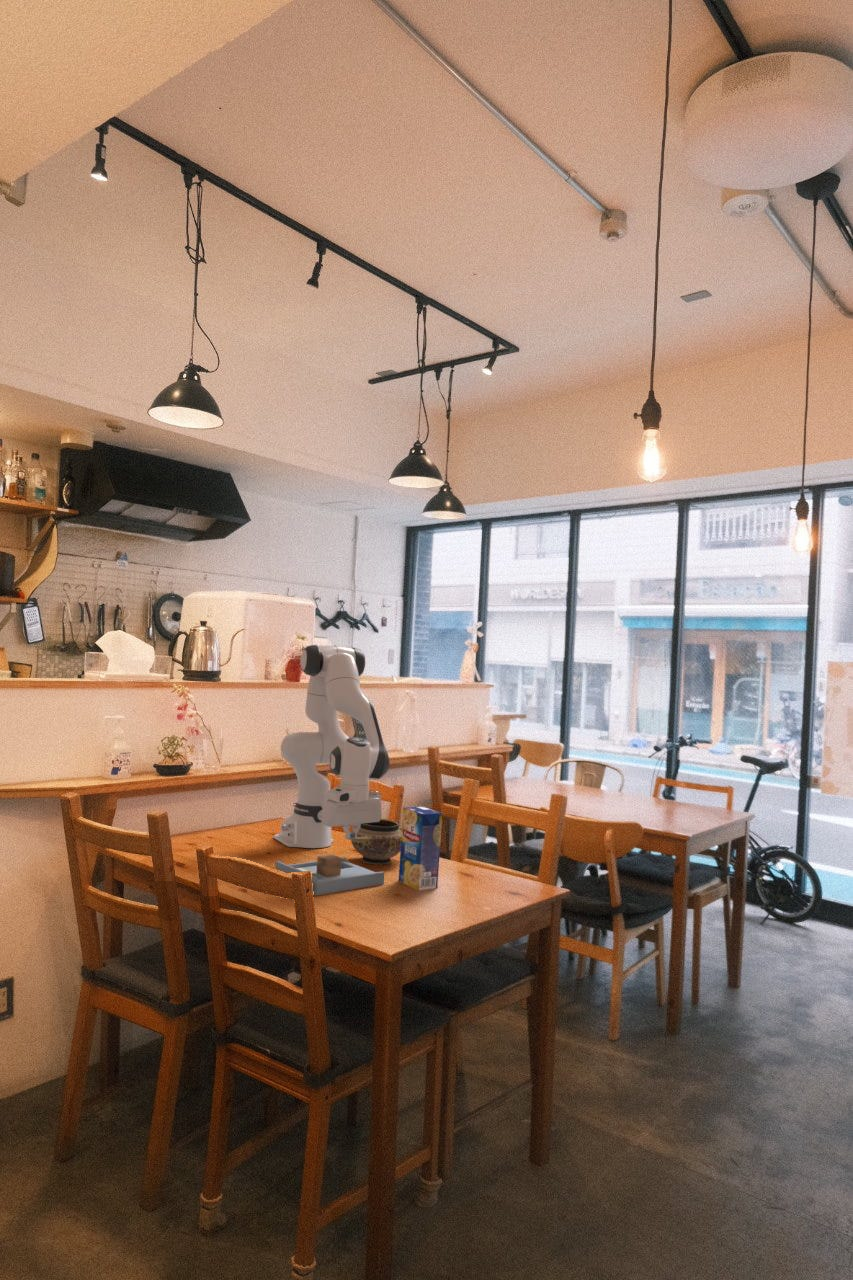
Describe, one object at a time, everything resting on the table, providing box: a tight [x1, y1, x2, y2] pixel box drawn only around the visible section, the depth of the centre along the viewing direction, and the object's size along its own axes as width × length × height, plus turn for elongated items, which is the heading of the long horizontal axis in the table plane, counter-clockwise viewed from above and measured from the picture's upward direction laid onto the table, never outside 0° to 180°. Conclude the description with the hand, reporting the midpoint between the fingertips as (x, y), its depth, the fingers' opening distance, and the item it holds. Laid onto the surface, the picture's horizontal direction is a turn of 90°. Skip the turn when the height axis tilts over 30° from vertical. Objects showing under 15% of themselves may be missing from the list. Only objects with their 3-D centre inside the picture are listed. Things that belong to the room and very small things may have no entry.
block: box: [316, 853, 342, 877], centre depth 243 cm, size 5×5×5 cm
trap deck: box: [274, 856, 385, 897], centre depth 244 cm, size 20×25×5 cm
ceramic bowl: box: [349, 818, 402, 865], centre depth 272 cm, size 24×18×15 cm
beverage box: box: [398, 806, 443, 891], centre depth 248 cm, size 7×11×22 cm, turn 34°
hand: (350, 838), depth 248 cm, fingers closed
